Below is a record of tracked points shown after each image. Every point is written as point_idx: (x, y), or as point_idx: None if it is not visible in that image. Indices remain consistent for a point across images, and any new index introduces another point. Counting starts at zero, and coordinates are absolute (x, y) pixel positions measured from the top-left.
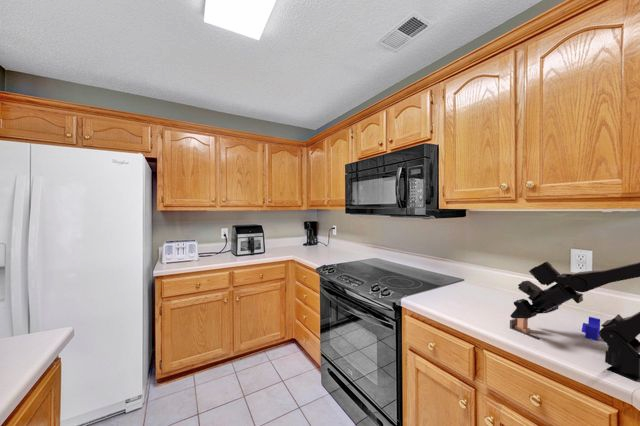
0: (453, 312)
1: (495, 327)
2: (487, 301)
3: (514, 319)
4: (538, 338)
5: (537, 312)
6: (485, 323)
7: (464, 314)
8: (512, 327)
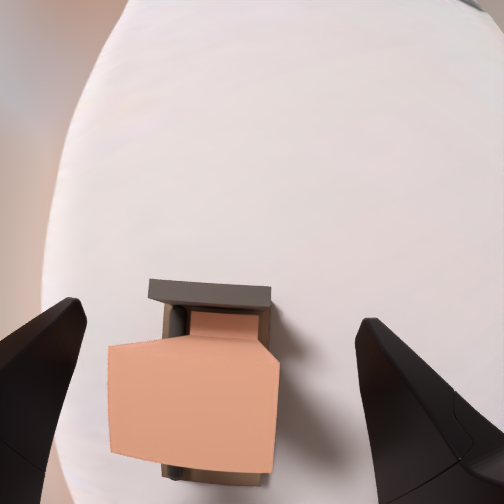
0: (170, 33)
1: (157, 210)
2: (452, 63)
3: (210, 293)
4: (169, 475)
5: (382, 478)
6: (165, 150)
7: (192, 54)
8: (178, 304)
